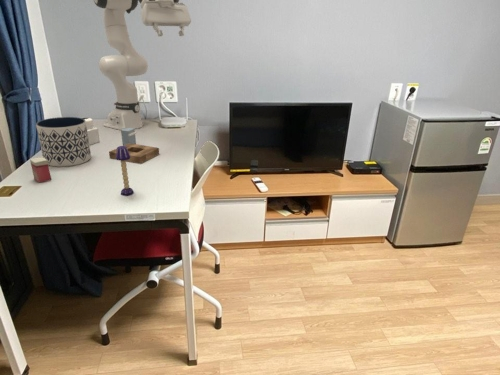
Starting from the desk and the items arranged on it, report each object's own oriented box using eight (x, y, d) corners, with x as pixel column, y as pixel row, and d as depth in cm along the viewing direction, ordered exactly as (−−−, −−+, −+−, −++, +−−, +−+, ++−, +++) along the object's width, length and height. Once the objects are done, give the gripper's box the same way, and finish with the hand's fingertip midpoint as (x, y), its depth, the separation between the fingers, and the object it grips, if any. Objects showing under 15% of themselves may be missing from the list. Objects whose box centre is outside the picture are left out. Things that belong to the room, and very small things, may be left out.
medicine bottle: (77, 143, 168) (73, 119, 163) (89, 139, 174) (85, 116, 169) (89, 145, 166) (85, 120, 161) (100, 141, 172) (96, 118, 167)
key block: (122, 146, 167) (120, 130, 164) (129, 143, 171) (127, 127, 168) (131, 147, 166) (129, 131, 162) (137, 144, 170) (135, 128, 167)
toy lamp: (117, 193, 119) (111, 147, 113) (128, 188, 123) (123, 143, 116) (126, 196, 117) (120, 150, 110) (137, 192, 121) (132, 146, 114)
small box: (33, 179, 127) (29, 159, 124) (46, 176, 130) (42, 156, 127) (39, 183, 125) (34, 162, 121) (51, 179, 128) (47, 159, 124)
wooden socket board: (109, 158, 151) (108, 151, 150) (130, 149, 163) (129, 143, 162) (140, 163, 146) (140, 157, 145) (159, 154, 158) (158, 147, 157)
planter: (44, 155, 150) (36, 118, 144) (89, 151, 158) (84, 115, 152) (43, 169, 136) (34, 129, 129) (93, 164, 144) (87, 125, 137)
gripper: (182, 7, 149) (191, 38, 150) (136, 4, 138) (145, 39, 139) (188, -1, 144) (196, 32, 145) (140, -4, 133) (150, 32, 134)
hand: (171, 35), depth 142 cm, fingers open, 8 cm apart
